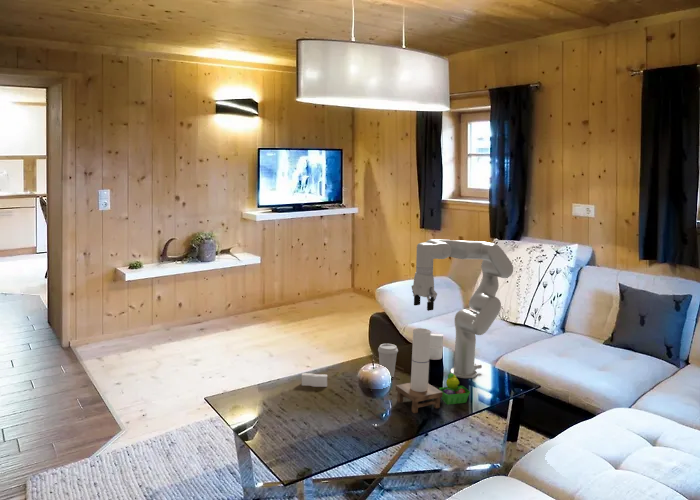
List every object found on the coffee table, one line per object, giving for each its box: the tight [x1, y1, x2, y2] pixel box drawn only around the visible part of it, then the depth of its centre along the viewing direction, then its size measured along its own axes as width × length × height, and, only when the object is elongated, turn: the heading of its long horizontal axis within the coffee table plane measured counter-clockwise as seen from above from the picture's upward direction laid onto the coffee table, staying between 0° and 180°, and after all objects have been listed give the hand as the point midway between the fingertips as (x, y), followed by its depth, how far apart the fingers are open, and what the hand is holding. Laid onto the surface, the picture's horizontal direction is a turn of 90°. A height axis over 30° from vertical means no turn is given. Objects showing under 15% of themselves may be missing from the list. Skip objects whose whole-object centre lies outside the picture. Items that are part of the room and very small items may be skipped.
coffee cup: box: [377, 343, 399, 377], centre depth 269 cm, size 10×10×15 cm
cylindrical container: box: [410, 327, 432, 392], centre depth 237 cm, size 7×7×25 cm
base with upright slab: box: [429, 333, 444, 361], centre depth 298 cm, size 9×9×12 cm
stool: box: [395, 382, 443, 414], centre depth 240 cm, size 14×14×7 cm
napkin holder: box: [301, 372, 328, 388], centre depth 258 cm, size 15×11×6 cm
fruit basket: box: [439, 373, 471, 405], centre depth 244 cm, size 11×9×11 cm
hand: (423, 307), depth 258 cm, fingers open, 9 cm apart
